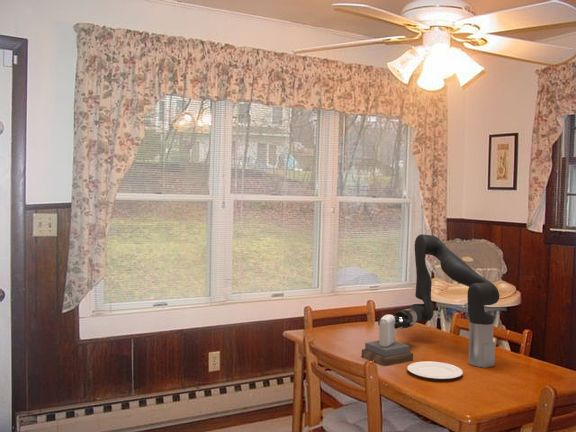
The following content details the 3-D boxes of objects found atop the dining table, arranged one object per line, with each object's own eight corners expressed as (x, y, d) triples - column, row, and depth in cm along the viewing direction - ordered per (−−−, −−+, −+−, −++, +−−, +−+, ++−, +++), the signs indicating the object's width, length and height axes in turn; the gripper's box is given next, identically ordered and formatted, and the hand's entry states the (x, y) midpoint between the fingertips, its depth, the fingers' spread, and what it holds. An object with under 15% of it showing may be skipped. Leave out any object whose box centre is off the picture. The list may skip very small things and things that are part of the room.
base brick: (412, 360, 231) (413, 353, 231) (385, 366, 223) (385, 358, 223) (388, 351, 244) (388, 344, 244) (361, 356, 236) (361, 349, 236)
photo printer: (386, 340, 239) (386, 312, 238) (396, 342, 237) (396, 313, 236) (377, 346, 230) (378, 316, 229) (387, 347, 228) (387, 317, 227)
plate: (468, 371, 218) (468, 366, 218) (455, 386, 200) (455, 381, 200) (416, 362, 229) (416, 358, 229) (399, 377, 211) (399, 372, 211)
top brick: (409, 353, 231) (409, 345, 231) (385, 357, 224) (385, 350, 224) (388, 345, 242) (388, 338, 242) (365, 349, 235) (365, 342, 235)
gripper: (391, 307, 250) (372, 313, 237) (420, 311, 241) (402, 318, 228) (390, 324, 250) (372, 331, 237) (420, 329, 241) (402, 336, 228)
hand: (387, 324), depth 233 cm, fingers open, 7 cm apart
